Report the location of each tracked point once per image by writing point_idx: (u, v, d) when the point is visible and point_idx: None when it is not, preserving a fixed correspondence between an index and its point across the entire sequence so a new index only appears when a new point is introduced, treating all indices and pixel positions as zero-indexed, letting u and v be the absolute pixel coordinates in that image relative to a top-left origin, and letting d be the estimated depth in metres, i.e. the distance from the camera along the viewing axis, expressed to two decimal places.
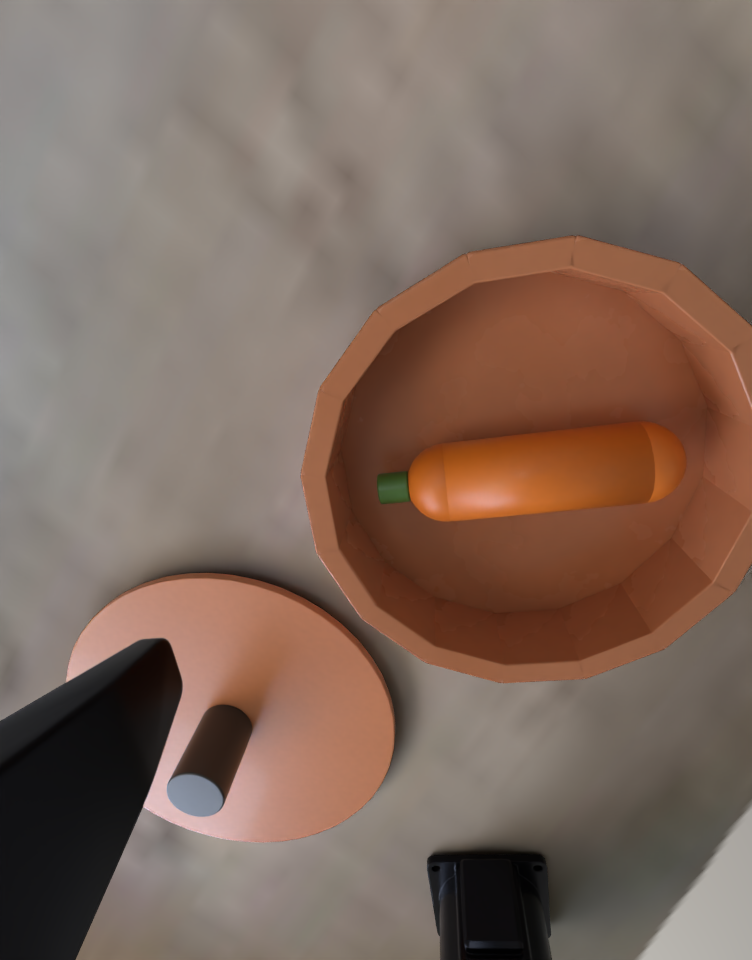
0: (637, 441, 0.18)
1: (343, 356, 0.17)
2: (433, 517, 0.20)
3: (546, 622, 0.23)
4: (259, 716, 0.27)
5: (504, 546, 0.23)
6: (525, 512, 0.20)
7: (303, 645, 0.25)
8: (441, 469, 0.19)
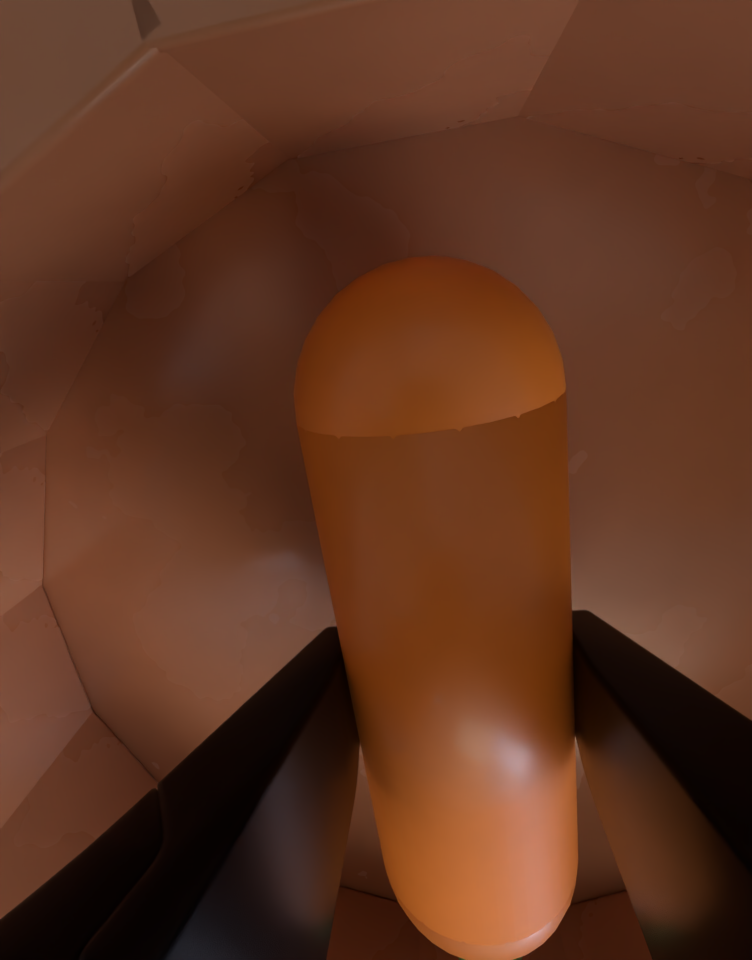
0: (320, 470, 0.05)
1: None
2: (555, 929, 0.08)
3: None
4: None
5: (692, 647, 0.09)
6: (557, 754, 0.06)
7: None
8: (416, 920, 0.08)
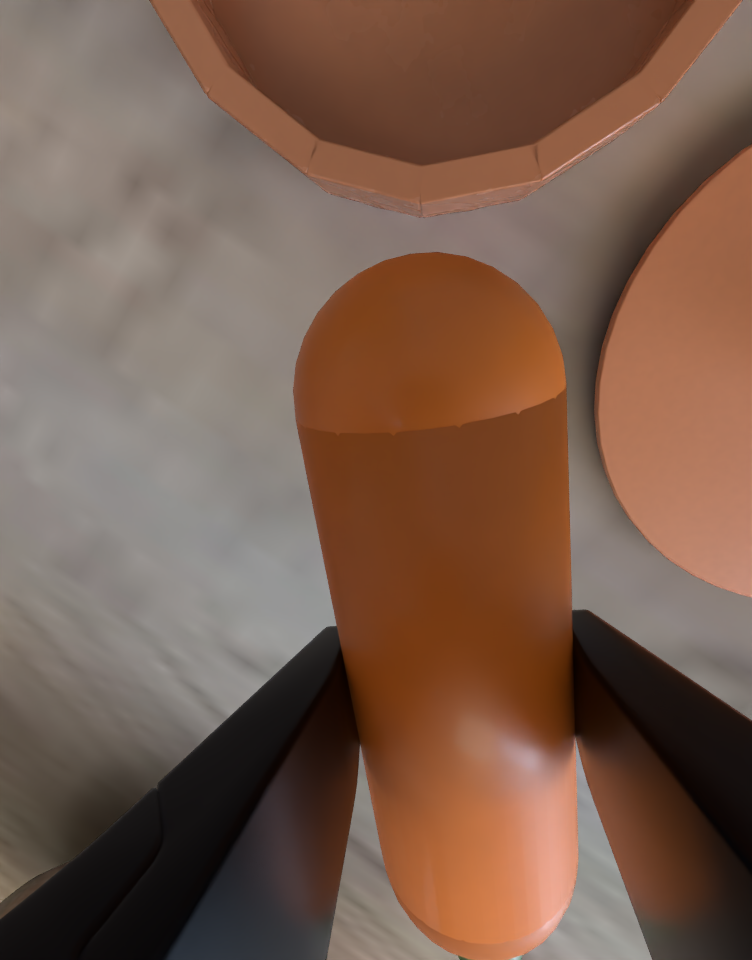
0: (319, 467, 0.05)
1: (263, 139, 0.14)
2: (555, 927, 0.08)
3: None
4: None
5: None
6: (556, 752, 0.06)
7: (732, 243, 0.16)
8: (416, 918, 0.08)
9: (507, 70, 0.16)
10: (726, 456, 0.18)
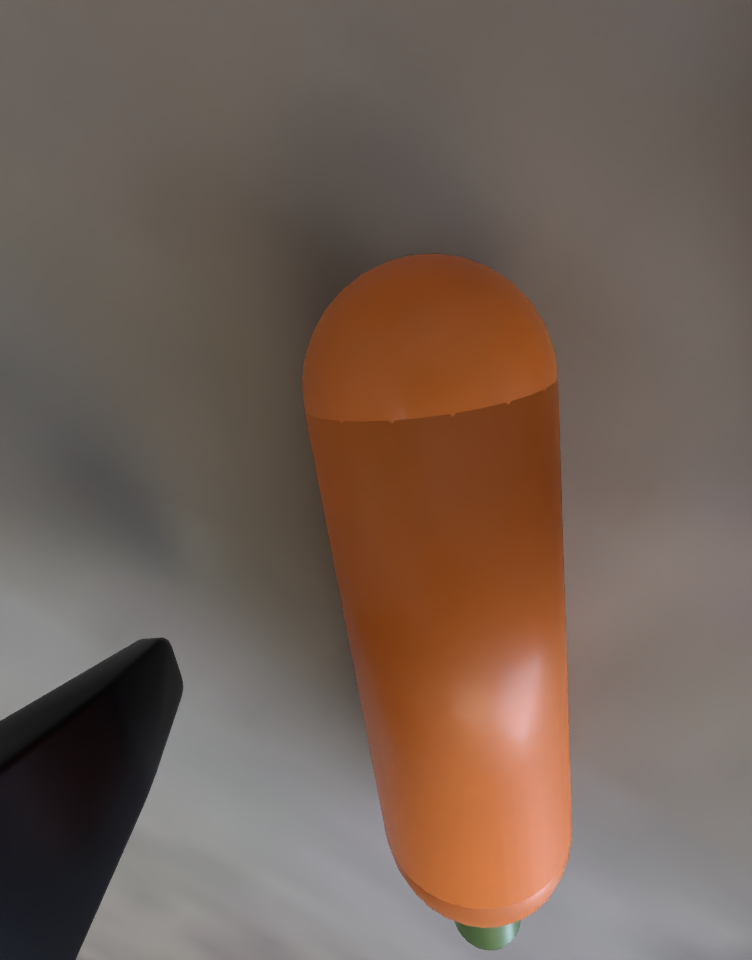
0: (325, 453, 0.06)
1: None
2: (548, 897, 0.08)
3: None
4: None
5: None
6: (548, 727, 0.07)
7: None
8: (415, 884, 0.08)
9: None
10: None
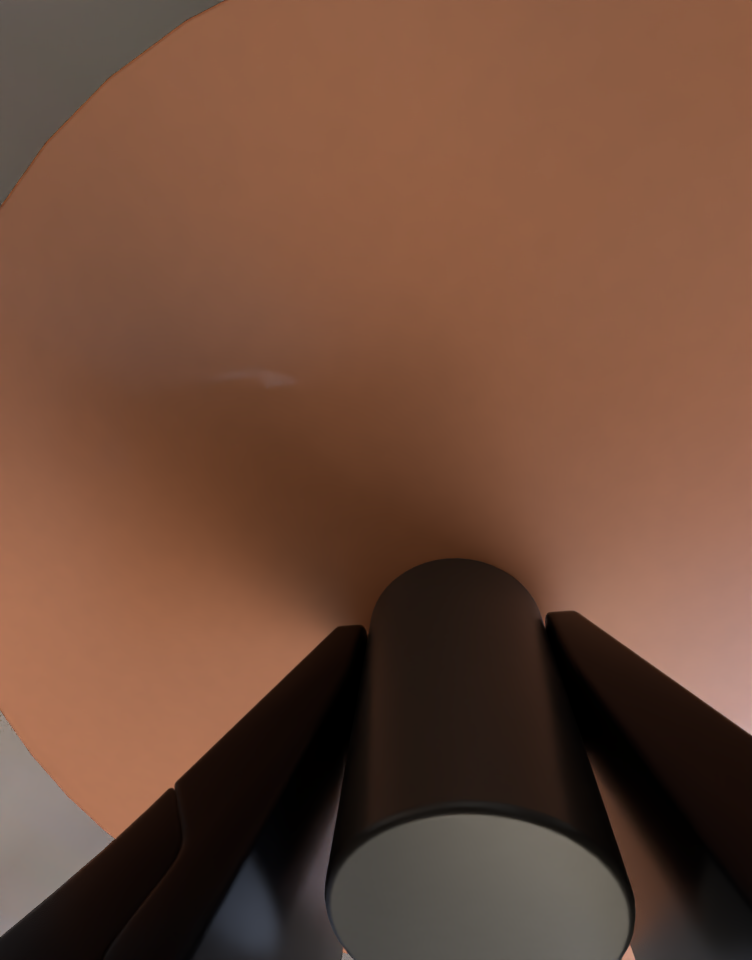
0: None
1: None
2: None
3: None
4: (414, 529, 0.08)
5: None
6: None
7: (93, 353, 0.07)
8: None
9: None
10: None
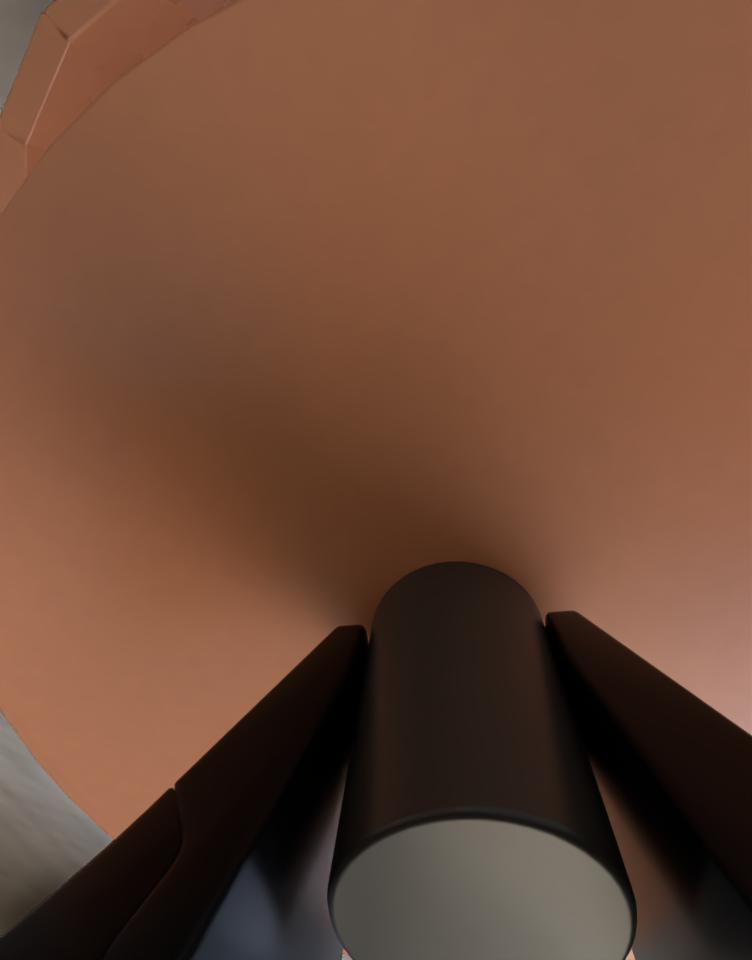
0: None
1: None
2: None
3: None
4: (416, 532, 0.08)
5: None
6: None
7: (95, 356, 0.07)
8: None
9: None
10: None
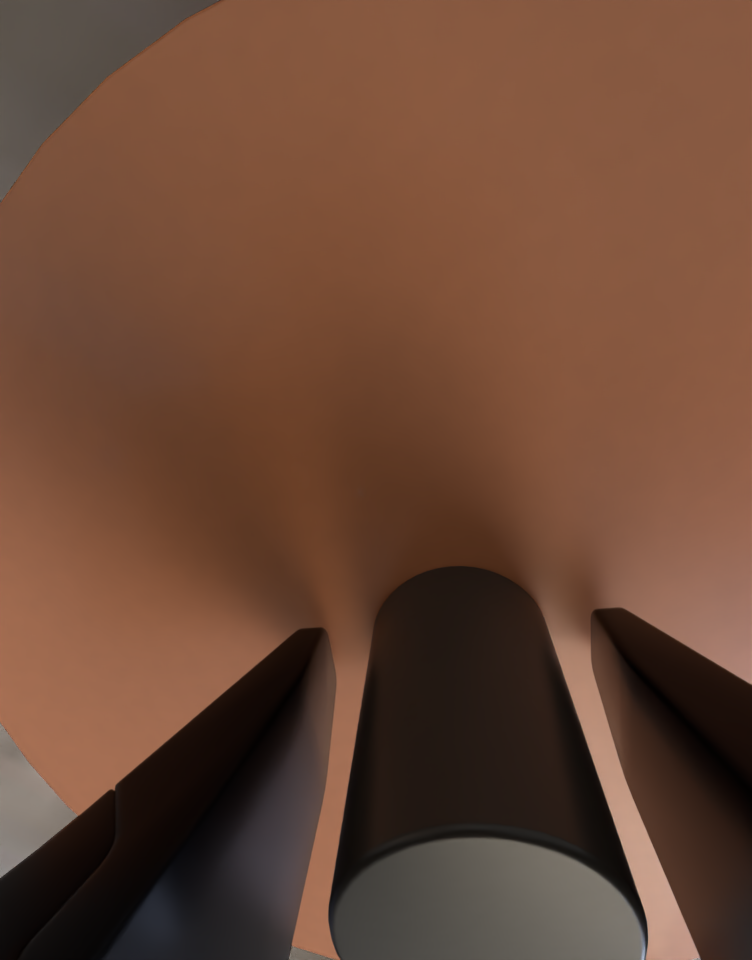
0: None
1: None
2: None
3: None
4: (418, 536, 0.08)
5: None
6: None
7: (91, 357, 0.07)
8: None
9: None
10: None
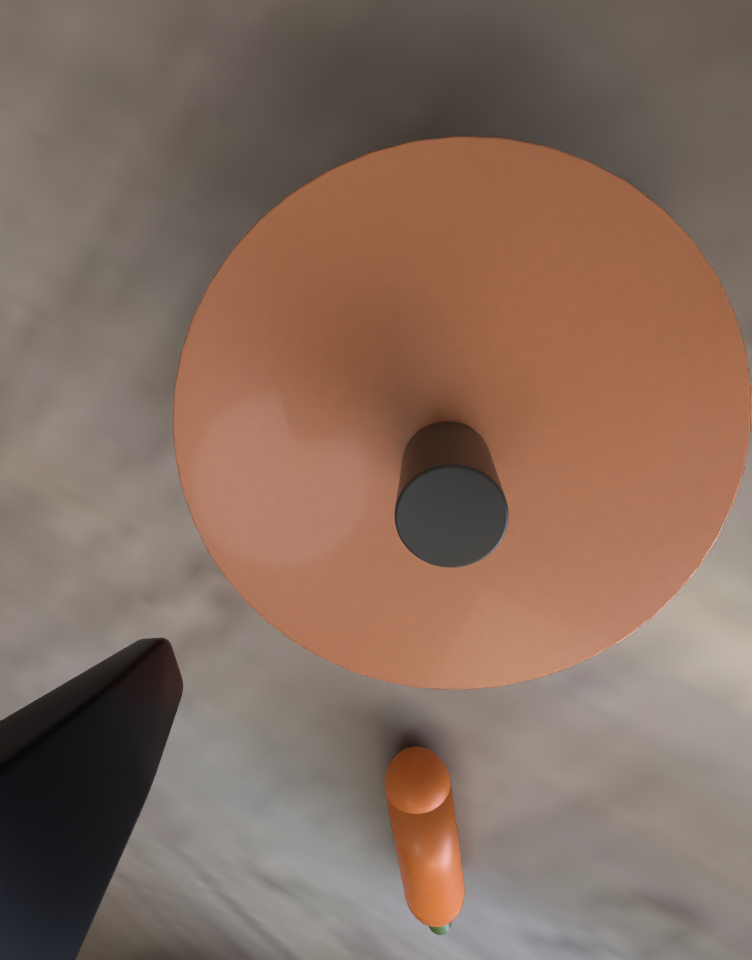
0: (386, 796, 0.24)
1: None
2: (443, 925, 0.26)
3: None
4: (425, 406, 0.15)
5: None
6: (437, 880, 0.24)
7: (270, 317, 0.15)
8: (406, 900, 0.26)
9: None
10: (321, 537, 0.17)
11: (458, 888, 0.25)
